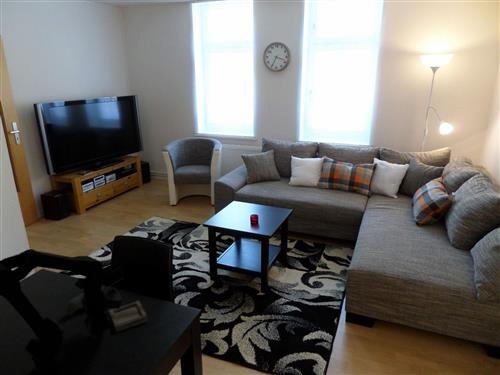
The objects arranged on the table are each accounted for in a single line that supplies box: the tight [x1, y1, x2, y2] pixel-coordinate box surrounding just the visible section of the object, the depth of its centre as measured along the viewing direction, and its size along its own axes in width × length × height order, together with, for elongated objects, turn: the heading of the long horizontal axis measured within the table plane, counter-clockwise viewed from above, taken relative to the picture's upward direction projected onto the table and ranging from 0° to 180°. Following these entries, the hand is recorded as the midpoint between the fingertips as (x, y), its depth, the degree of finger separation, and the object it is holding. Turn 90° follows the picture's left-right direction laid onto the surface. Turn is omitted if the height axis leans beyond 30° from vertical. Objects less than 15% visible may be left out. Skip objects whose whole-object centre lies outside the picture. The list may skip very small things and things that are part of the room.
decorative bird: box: [66, 285, 105, 317], centre depth 132 cm, size 5×16×8 cm, turn 146°
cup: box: [83, 311, 110, 341], centre depth 115 cm, size 8×7×8 cm
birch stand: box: [108, 300, 149, 333], centre depth 125 cm, size 11×11×2 cm
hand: (98, 332), depth 115 cm, fingers open, 7 cm apart
